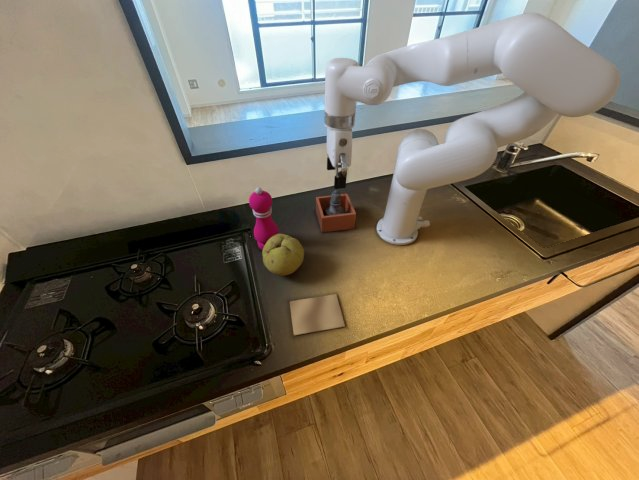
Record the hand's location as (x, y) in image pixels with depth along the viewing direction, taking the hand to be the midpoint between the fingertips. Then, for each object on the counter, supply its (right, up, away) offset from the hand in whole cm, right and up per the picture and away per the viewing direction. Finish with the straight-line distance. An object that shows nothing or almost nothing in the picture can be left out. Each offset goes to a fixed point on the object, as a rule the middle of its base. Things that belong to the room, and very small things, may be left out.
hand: (335, 178), depth 81 cm
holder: (0, -11, +11) cm, 16 cm away
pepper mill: (-20, -19, +4) cm, 28 cm away
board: (-5, -36, -13) cm, 39 cm away
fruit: (-14, -26, -3) cm, 29 cm away
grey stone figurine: (0, -11, +11) cm, 16 cm away
